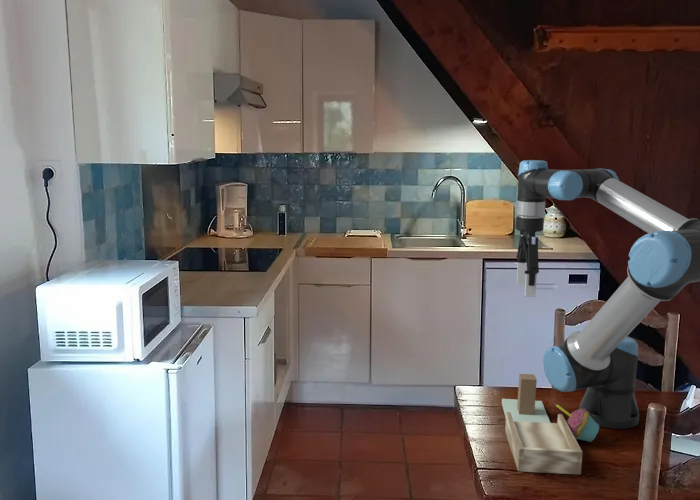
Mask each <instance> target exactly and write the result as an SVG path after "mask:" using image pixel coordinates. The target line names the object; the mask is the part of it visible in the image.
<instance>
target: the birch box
mask: <svg viewBox="0 0 700 500" xmlns="http://www.w3.org/2000/svg"><path fill="white" fill-rule="evenodd" d="M566 421H567V420H566V419H565V417H564V415H563V414H562V413H558V414H557V422H550V423H541V422H519V421H513V418H512V415H511V413H510V412H506V417H505V428H504V429H505V430H504V433H505V436H506V439H507V441H508V445H509V448H510V450H511V455H512V457H513V460H514V464H515V465H516V469H517V472H523V473H524V472H525V473H546V474H561V475H563V474H564V475H565V474H566V475H582V464H583V453H584V452H583V450H582V448H581V446H580V445H579V443H578V441H577V439H575V437H574V435H573V434H572V432H571V430H570V428H569V426H568V424H567V422H566Z"/></svg>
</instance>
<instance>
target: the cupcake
mask: <svg viewBox="0 0 700 500" xmlns="http://www.w3.org/2000/svg"><path fill="white" fill-rule="evenodd" d="M554 405H555V406H556V408H558V409H559V410H560V411H561V412H563V413H564V414H565V415H567V416H568V418H567V420H565V421H566V422H567V424H568V426H569V428H570V430H571V432H572V434H573V435H574V437H575V439H576V440H580V441H585V442H589V443H591V442H592V441H593V440H595V439H596V436H597V434H598V433H599V429H600V426H599V425H598V424H597V423H596V422H595V421H594V420H593V419H592V417H591V416H590V415H589V414H590V413H589V412H588V411H587V410H586V409H580V408H577V409H576V410H574V411H573V412H571V413H570V412H568V411H567V410H566V409H565V408H563V407H562V406H560V405H559V404H557V403H554Z"/></svg>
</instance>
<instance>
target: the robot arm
mask: <svg viewBox="0 0 700 500" xmlns="http://www.w3.org/2000/svg"><path fill="white" fill-rule="evenodd" d="M517 177H518V178H517V179H518V180H517V198H516V200H517V202H516V204H514V207H515V208H516V215H517V216H516V217H515V230H517V231H519V239H518V247H517V252H516V259H517V270H516V271H517V272H516V286H524V297H525V298H526V297H527V298H536V291H537V276H538V275H537V274H539V272H540V269H539V267H540V266H539V237H538V236H536V233H539V232H540V233H541V232H542V231H543V230H544V227H545V226H544V223H545V222H544V221H545V218H544V216H545V214H546V213H545V211H546V198H549V199H553V200H554V199H556V200H558V201H574V200H575V199H581V198H582V199H583V198H584V199H585V198H589V199H592V200H593V201H595V202H597V203H598V204H600V205H602V206H604V207H605V208H607V209H609V210H610V211H612V212H613V213H615V214H617V215H618V216H619V217H621V218H623V219H625V220H627V221H628V222H629V223H631V224H633V225H634V226H635V227H637V228H639V229H641V230H642V231H644V232H646V233H647V234H644V235H642V236H641V237H639V238H638V239H637V240H636V241H635V242H634V243H633V245H632V246H631V248H630V251H629V253H628V257H629V260H628V261H627V264H628V265H627V269H626V271H627V277H626V278H625V279H624V281H623V282H622V283H621V284H620V285H619V286H618V288H617V289H616V290H615V291H614V292H613V294H612V295H611V296H610V297H609V298H608V300H606V302H605V303H604V304H603V305H602V307H600V309H599V310H598V311H597V312H596V313H595V315H593V317H592V318H591V319H590V320H589V322H588V323H587V324H586V325H585V326H584V327H583V328H582V329H581V330H578V331H577V330H576V331H573V332H571V334H569V335H568V337H567V338H566V339H565V340H564V341H563V342H562V343H561V344H560V345H558V346H557V345H554V346H551V347H549V348H547V350H545V352H544V353H543V358H542V365H543V371H544V375H545V377H546V378H547V381H548V382H549V384H550V385H551V386H552V387H553V388H554V389H555V390H557V391H559V392H563V393H566V392H574V391H578V390H584V389H586V390H585V393H584V395H583V397H582V399H581V401H580V404H579V409H586V410H587V411H588V412H589V413H590V414H589V415H590V416H591V417H592V419H593V420H594V421H595V422H596V423H597V424H598V425H599V427H603V428H607V429H608V428H609V429H617V430H618V429H620V430H621V429H623V430H624V429H625V430H626V429H630V428H634V427H636V426H638V424H639V422H640V411H639V407H638V403H637V399H636V395H635V387H636V380H637V379H636V378H637V370H638V362H639V355H640V354H639V344H638V342H637V341H636V340H635V339H634V338H632V337H630V336H629V335H630V334H631V332H633V331H634V329H636V327H637V326H638V325H640V323H641V322H643V320H644V319H645V318H646V317H647V316H648V315H649V314H650V313H651V311H652V310H653V309H655V307H656V306H657V305H658V304H659V303H660V302H669V301H671V300H673V299H674V298H675V297H676V296H677V295H678V294H679V293H680V291H682V290H683V289H684V287H686V286H687V285H688V284H692V283H699V282H700V219H698V218H687V217H685V216H684V215H682V214H680V213H679V212H676V211H675V210H673V209H671V208H669V207H667V206H666V205H664V204H662V203H660V202H658V201H657V200H655V199H653V198H651V197H649V196H647V195H646V194H645V193H642V192H640V191H638V190H637V189H635V188H633V187H631V186H629V185H628V184H626V183H624V182H622V181H620V179H619V176H617V173H616V172H615V171H614V170H612V169H609V168H607V169H606V168H591V169H590V168H588V169H585V168H584V169H552V168H551V169H549V167H548V161H545V160H539V159H537V160H535V159H525V160H522V161H520V163H519V168H518V174H517Z"/></svg>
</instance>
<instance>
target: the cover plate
mask: <svg viewBox="0 0 700 500" xmlns="http://www.w3.org/2000/svg"><path fill="white" fill-rule="evenodd" d="M517 389H518V390H517V399H516V398H515V399H514V398H513V399H512V398H501V406H502V410H503V413H504V417H505V418H506V412H510V413H511V415H512V418H513V421H519V422H541V423H551V420H550V417H549V416H548V413H547V411H546V409H545V406H544V403H543V401H542V400H536V395H537V377H536V375H535V374H532V373H519V375H518V388H517Z"/></svg>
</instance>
